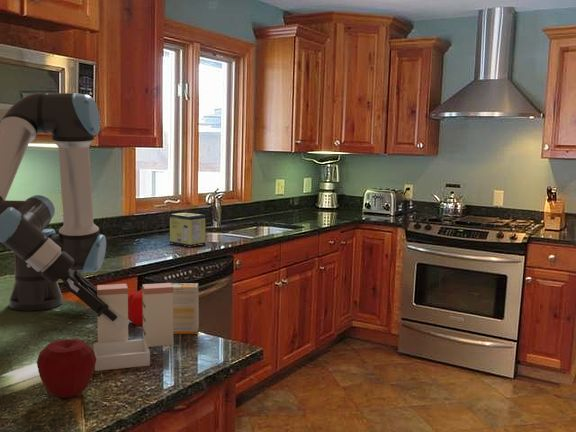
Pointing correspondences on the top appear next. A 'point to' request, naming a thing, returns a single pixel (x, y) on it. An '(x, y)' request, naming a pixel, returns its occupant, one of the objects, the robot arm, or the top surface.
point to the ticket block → (157, 314)
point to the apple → (66, 367)
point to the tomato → (135, 307)
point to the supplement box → (185, 308)
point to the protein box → (187, 229)
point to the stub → (119, 302)
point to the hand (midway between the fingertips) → (124, 323)
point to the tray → (121, 354)
